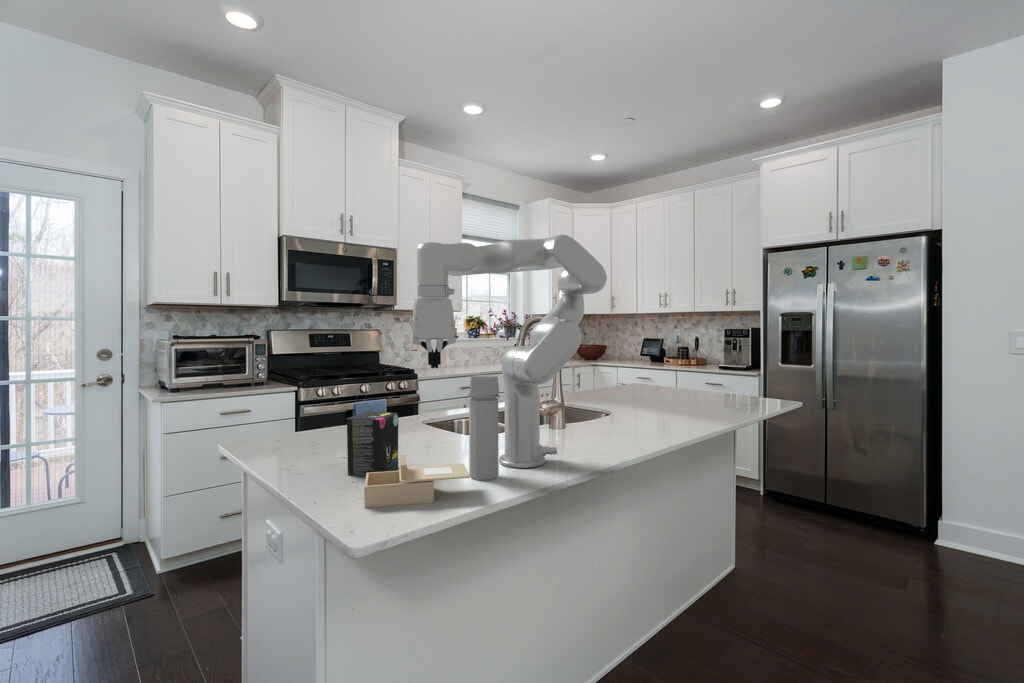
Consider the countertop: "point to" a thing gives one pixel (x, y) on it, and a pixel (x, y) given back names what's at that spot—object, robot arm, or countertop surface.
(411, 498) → the mailer box
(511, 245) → the robot arm
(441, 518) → the countertop surface
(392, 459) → the tampon box
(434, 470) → the lid
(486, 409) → the water bottle
